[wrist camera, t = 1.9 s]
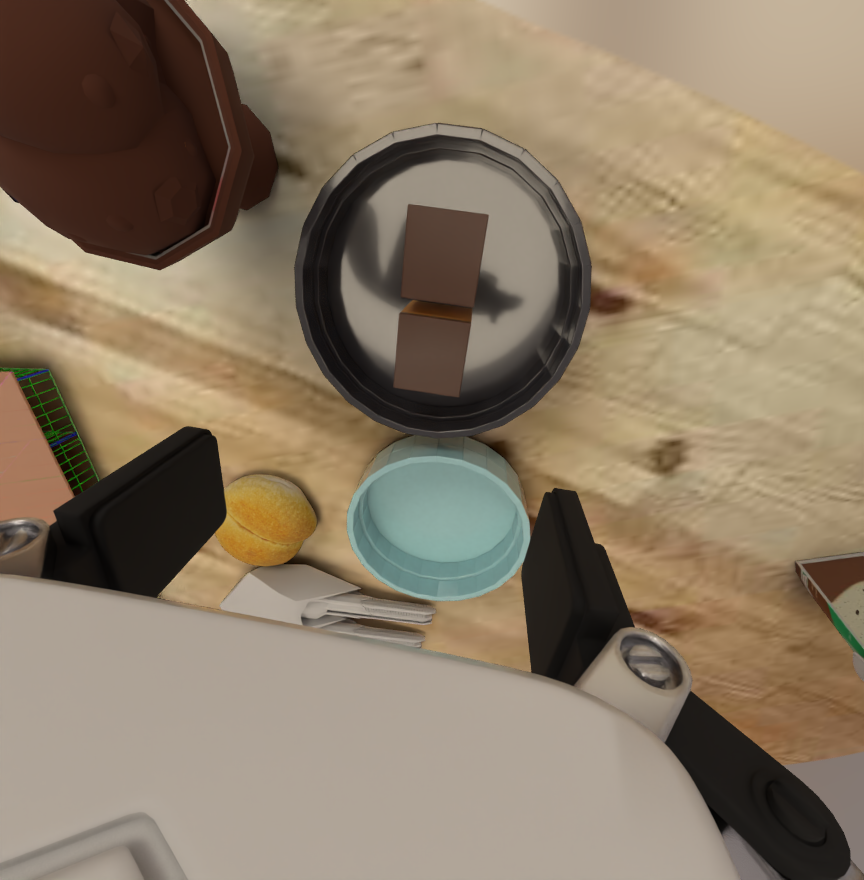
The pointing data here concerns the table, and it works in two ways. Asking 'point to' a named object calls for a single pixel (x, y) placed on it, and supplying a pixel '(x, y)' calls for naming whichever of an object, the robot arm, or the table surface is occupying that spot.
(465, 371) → the charcoal bowl
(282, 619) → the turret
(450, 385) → the snack cake
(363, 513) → the blue bowl
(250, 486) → the bread roll
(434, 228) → the snack cake
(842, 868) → the robot arm
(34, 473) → the house
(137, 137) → the ice cream bowl
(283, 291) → the table surface
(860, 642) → the food container
